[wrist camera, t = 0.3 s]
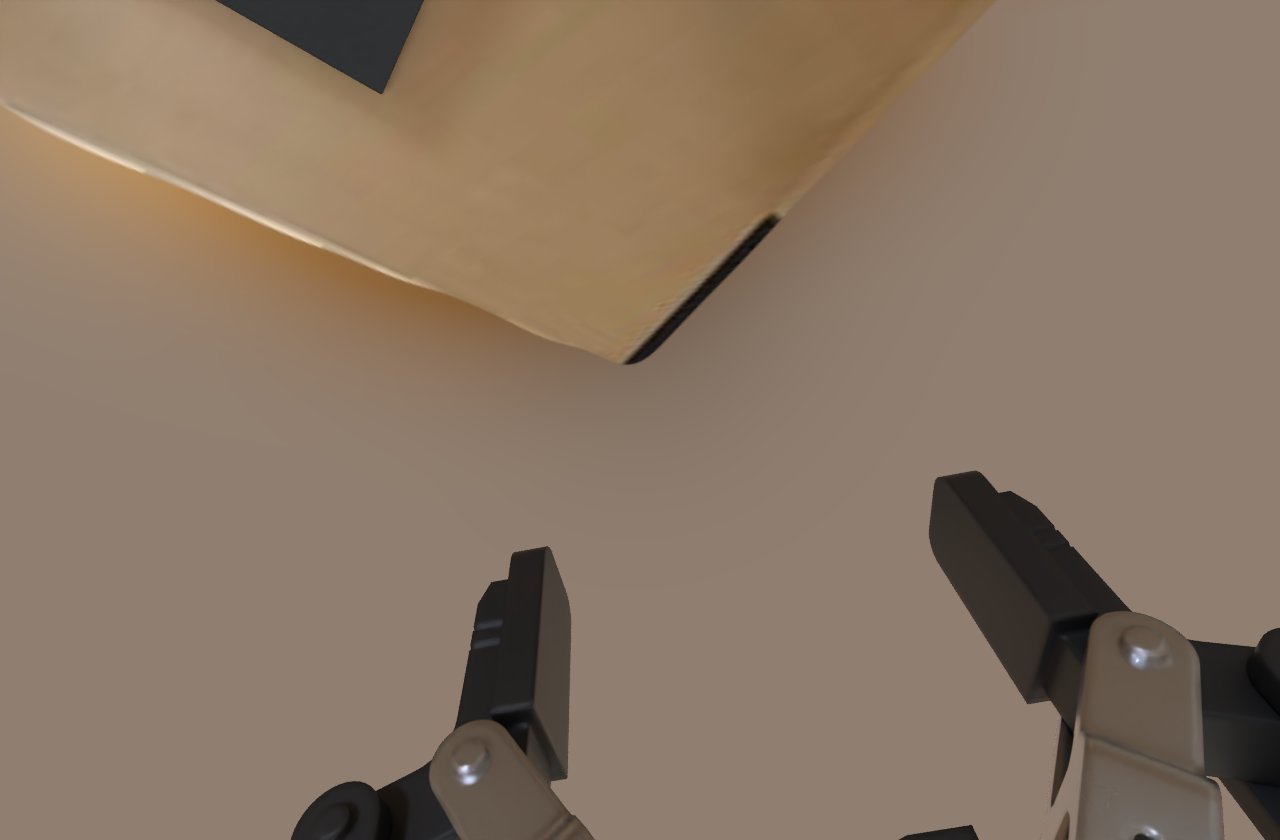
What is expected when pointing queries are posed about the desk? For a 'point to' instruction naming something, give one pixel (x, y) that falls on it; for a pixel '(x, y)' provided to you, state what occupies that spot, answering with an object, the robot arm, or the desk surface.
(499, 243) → the desk surface
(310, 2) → the mat
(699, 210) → the desk surface
